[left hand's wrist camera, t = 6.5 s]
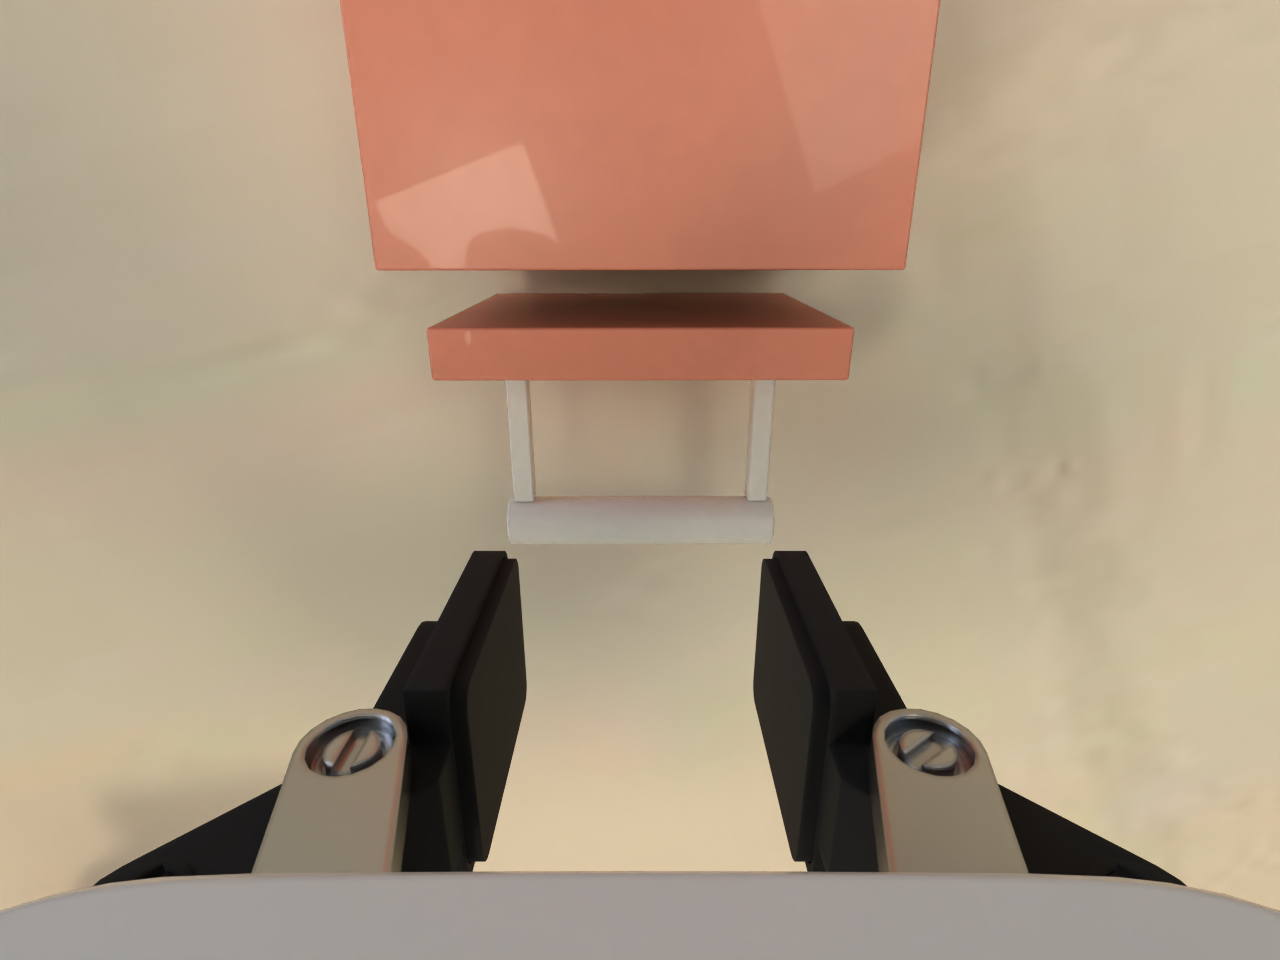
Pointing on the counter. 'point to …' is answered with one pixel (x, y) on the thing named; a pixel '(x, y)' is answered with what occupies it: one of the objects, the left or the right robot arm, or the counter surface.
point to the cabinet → (640, 132)
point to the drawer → (640, 350)
